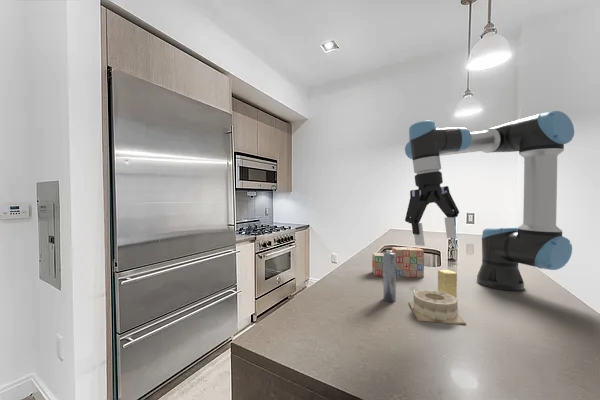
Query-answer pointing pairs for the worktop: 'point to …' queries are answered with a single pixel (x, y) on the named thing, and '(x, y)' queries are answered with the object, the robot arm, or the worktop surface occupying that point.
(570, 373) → the worktop surface
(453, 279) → the square bit
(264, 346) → the worktop surface
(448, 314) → the socket block
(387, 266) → the cylinder
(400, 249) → the stack of blocks
